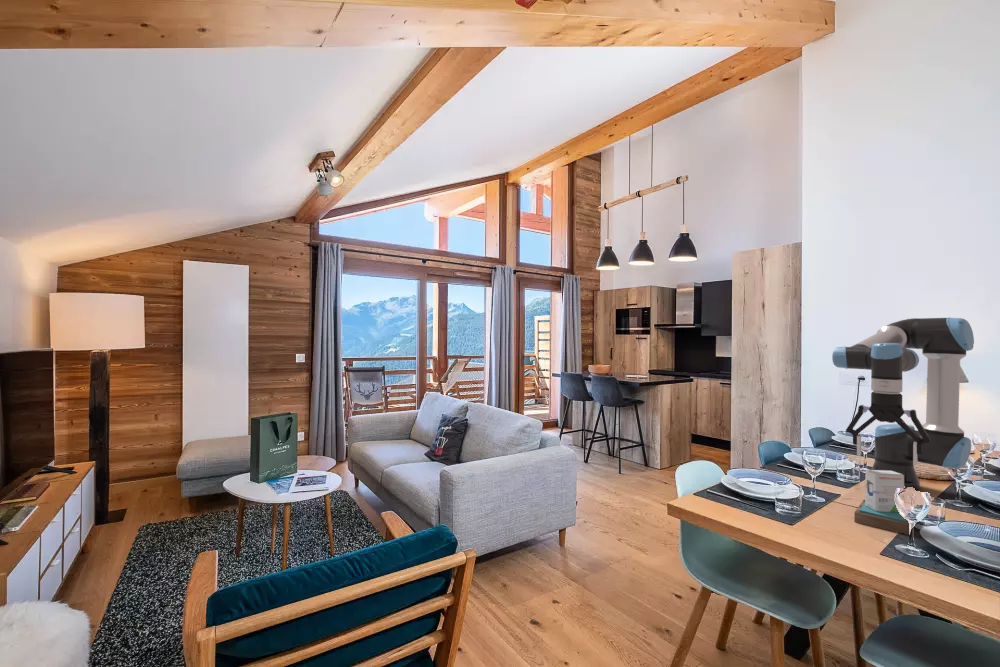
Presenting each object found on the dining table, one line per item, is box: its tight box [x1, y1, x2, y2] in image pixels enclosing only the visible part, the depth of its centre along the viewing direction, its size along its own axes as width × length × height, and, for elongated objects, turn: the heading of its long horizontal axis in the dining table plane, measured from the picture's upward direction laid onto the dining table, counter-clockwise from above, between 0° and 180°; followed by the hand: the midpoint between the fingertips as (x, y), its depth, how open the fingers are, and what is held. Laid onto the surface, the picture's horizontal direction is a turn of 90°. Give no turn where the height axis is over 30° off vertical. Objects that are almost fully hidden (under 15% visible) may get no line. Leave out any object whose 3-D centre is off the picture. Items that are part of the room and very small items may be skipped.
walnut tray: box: [854, 499, 909, 536], centre depth 145 cm, size 16×13×4 cm
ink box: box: [864, 469, 904, 512], centre depth 145 cm, size 9×5×12 cm, turn 86°
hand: (886, 459), depth 145 cm, fingers open, 13 cm apart
